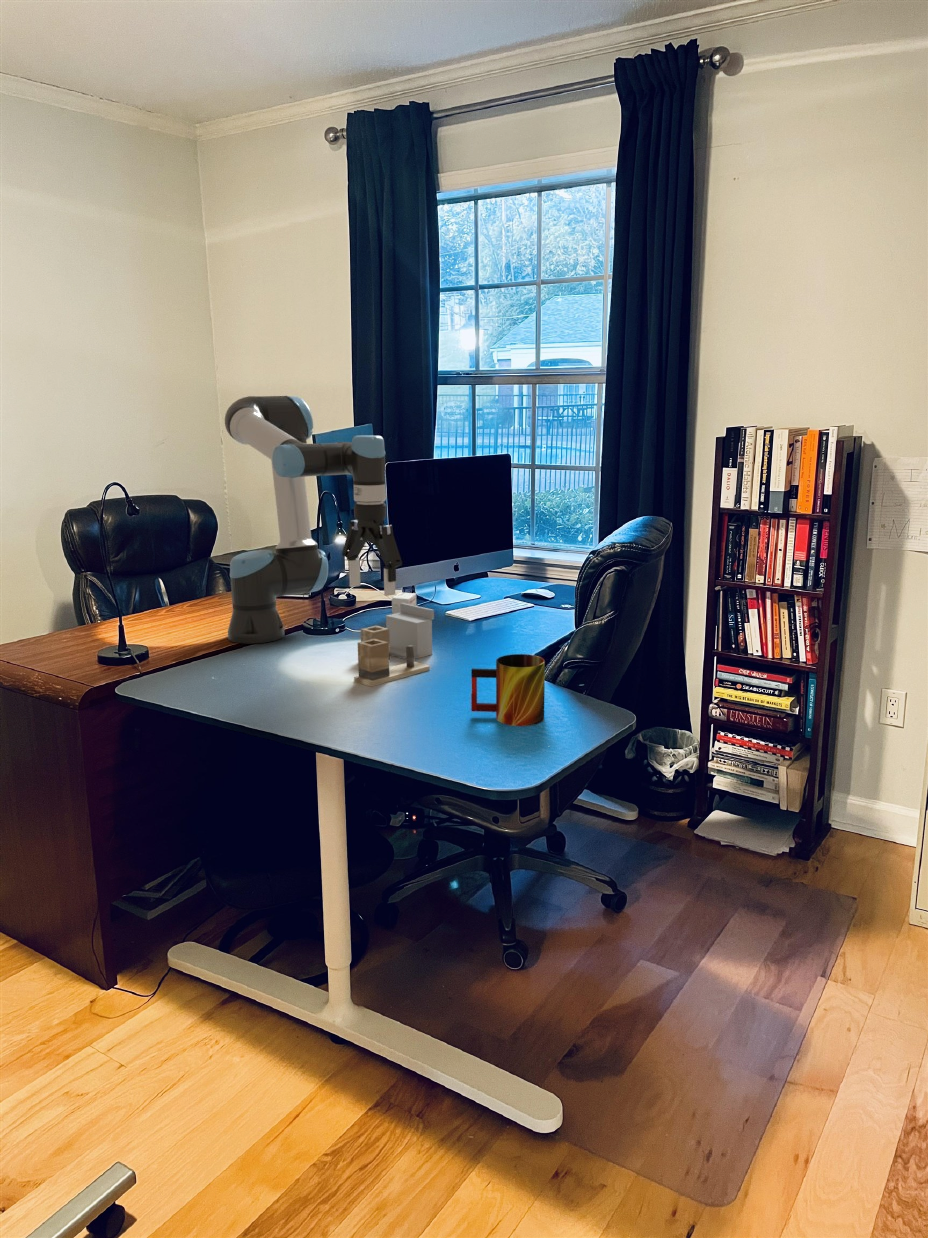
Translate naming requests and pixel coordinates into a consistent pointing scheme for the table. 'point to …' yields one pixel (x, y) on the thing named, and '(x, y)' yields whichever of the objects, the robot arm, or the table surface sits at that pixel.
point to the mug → (514, 689)
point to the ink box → (402, 601)
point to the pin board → (398, 670)
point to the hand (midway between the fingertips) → (372, 590)
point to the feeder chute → (410, 631)
